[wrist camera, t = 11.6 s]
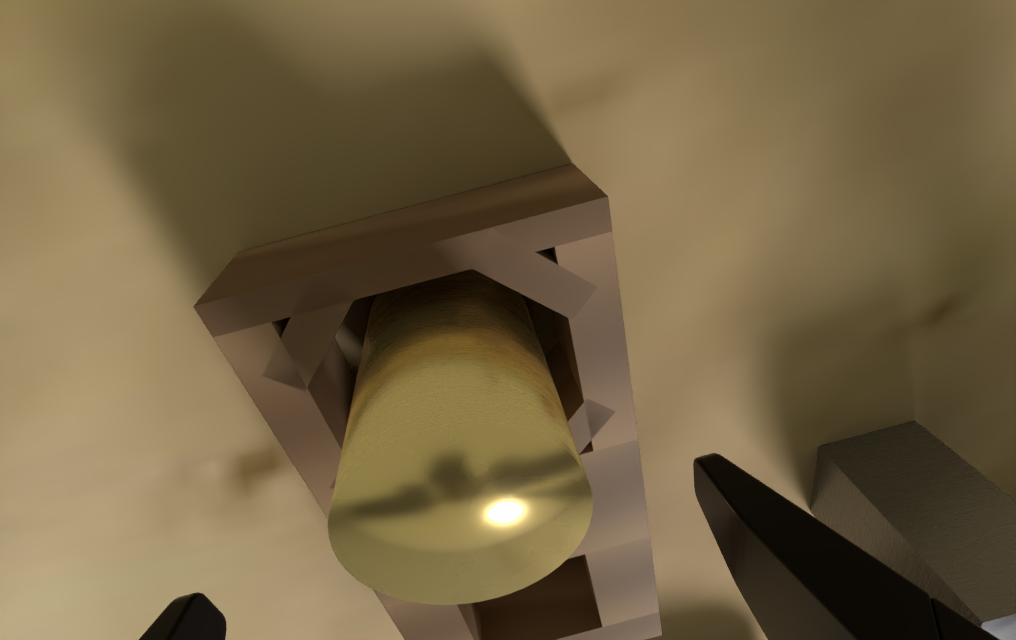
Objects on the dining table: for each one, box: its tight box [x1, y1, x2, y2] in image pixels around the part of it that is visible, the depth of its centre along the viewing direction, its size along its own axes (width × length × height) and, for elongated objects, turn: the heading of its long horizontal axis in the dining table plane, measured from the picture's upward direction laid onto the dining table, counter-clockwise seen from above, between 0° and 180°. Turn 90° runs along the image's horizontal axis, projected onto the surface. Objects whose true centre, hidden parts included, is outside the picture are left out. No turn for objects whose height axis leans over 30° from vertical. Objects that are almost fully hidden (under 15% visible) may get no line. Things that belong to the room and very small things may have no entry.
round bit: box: [328, 269, 593, 605], centre depth 12 cm, size 5×5×7 cm
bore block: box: [193, 164, 662, 640], centre depth 17 cm, size 18×9×3 cm, turn 13°
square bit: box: [810, 421, 1016, 640], centre depth 18 cm, size 4×4×7 cm
